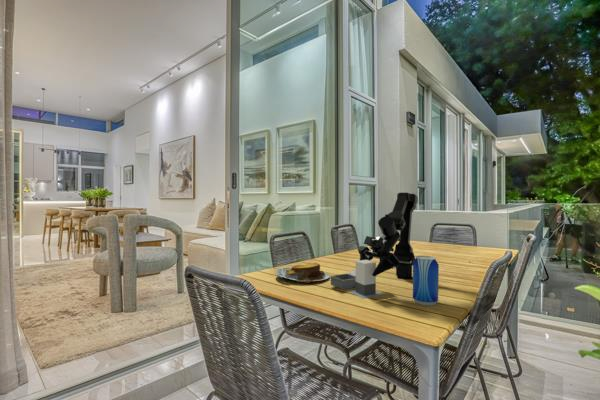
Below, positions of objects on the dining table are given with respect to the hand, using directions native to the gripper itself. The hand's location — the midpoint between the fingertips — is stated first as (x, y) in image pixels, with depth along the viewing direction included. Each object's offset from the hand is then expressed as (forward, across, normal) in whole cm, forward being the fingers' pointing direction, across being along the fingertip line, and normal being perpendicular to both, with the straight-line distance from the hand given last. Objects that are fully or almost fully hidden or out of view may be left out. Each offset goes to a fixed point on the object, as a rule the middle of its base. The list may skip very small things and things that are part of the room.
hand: (365, 272), depth 121 cm
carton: (+7, -12, +5) cm, 14 cm away
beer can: (-3, +17, +15) cm, 23 cm away
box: (+5, 0, +6) cm, 8 cm away
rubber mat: (+6, 0, +6) cm, 8 cm away
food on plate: (+14, -32, -2) cm, 35 cm away
